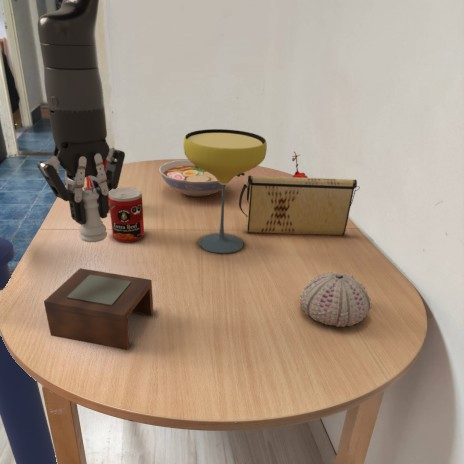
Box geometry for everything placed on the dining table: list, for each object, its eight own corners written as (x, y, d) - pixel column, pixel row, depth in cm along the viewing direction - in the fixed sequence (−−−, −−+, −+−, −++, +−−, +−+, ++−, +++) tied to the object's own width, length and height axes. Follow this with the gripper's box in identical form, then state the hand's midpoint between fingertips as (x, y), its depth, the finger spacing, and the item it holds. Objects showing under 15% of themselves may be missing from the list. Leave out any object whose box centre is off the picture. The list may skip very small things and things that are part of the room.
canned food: (109, 242, 109) (105, 198, 103) (115, 228, 116) (111, 186, 110) (142, 243, 110) (139, 199, 103) (146, 229, 116) (143, 187, 110)
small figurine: (303, 208, 135) (311, 157, 126) (281, 204, 137) (287, 153, 129) (311, 201, 140) (319, 151, 132) (290, 196, 143) (296, 147, 135)
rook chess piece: (78, 233, 75) (71, 186, 71) (105, 230, 77) (100, 184, 72) (81, 244, 72) (73, 195, 67) (109, 241, 73) (104, 193, 69)
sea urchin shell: (334, 341, 80) (342, 303, 76) (283, 305, 89) (288, 270, 85) (381, 318, 87) (391, 282, 83) (330, 288, 96) (337, 254, 92)
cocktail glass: (270, 241, 114) (282, 138, 100) (231, 268, 101) (237, 154, 87) (212, 223, 122) (215, 125, 108) (168, 245, 109) (166, 137, 95)
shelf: (50, 335, 78) (43, 300, 74) (84, 300, 87) (79, 267, 83) (127, 350, 75) (123, 314, 71) (153, 311, 85) (151, 278, 81)
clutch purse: (344, 227, 125) (355, 172, 116) (350, 238, 119) (362, 181, 111) (236, 223, 123) (240, 168, 114) (238, 234, 117) (241, 176, 109)
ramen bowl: (143, 188, 142) (141, 162, 137) (200, 176, 155) (200, 152, 151) (192, 213, 127) (192, 185, 122) (250, 197, 140) (252, 171, 136)
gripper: (103, 95, 70) (114, 203, 79) (13, 103, 61) (37, 224, 70) (133, 102, 66) (141, 215, 75) (42, 112, 57) (63, 239, 66)
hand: (91, 219), depth 73 cm, fingers closed on rook chess piece, 3 cm apart
